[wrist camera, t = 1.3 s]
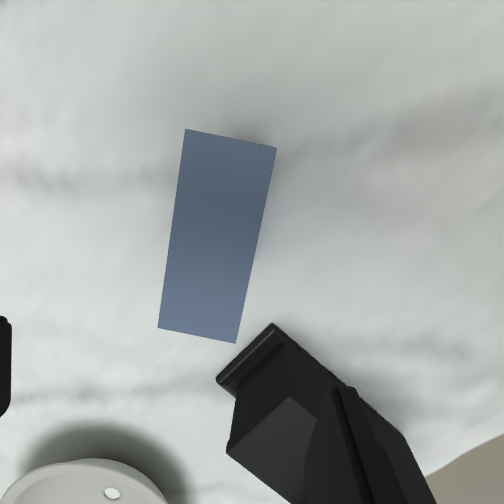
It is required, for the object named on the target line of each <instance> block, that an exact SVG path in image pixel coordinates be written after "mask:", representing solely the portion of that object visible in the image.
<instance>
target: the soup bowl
mask: <svg viewBox="0 0 504 504" xmlns="http://www.w3.org/2000/svg"><path fill="white" fill-rule="evenodd" d="M106 488H115V489H117V490H118V491H119V493H120V497H119V498H118V499H115V500H113V499H109V498H107V497H106V496H105V494H104V490H105V489H106ZM0 504H168V502H167V501H166V500H165V498H164V496H163V495H162V493H161V492H160V490H159V489H158V488H157V487H156V485H155V484H154V483H153V482H152V481H151V480H150V479H149V478H148V477H146V476H145V475H144V474H142V473H141V472H140V471H138V470H136V469H135V468H133V467H131V466H129V465H126V464H124V463H121V462H118V461H114V460H108V459H100V458H88V459H79V460H74V461H70V462H62V463H55V464H50V465H46V466H42V467H40V468H37V469H34V470H32V471H30V472H28V473H26V474H25V475H23V476H22V477H20V478H19V479H18V480H16V481H15V482H14V483H13V484H12V485H11V486H10V487H9V488H8V489H7V491H6V492H5V493H4V495H3V497H2V499H1V501H0Z"/></svg>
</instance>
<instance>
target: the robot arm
mask: <svg viewBox="0 0 504 504" xmlns="http://www.w3.org/2000/svg"><path fill="white" fill-rule="evenodd" d="M11 349H12V326H11V324H10V323H8V321H7V319H6V318H5V317H4V316H0V417H1V416H2V415H3V414H4V413H5V412H6V410H7V409H8V407H9V404H10V400H11ZM304 480H305V488H306V496H307V504H408V503H407V501H406V498H405V496H404V493H403V491H402V489H401V486H400V484H399V481H398V479H397V477H396V474H395V472H394V469H393V467H392V464H391V462H390V460H389V457H388V455H387V452H386V450H385V448H384V446H383V444H381V443H380V442H379V441H376V439H375V436H374V434H373V431H372V429H371V426H370V424H369V421H368V418H367V416H366V413H365V411H364V408H363V406H362V403H361V401H360V398H359V396H358V393H357V391H356V389H355V388H354V387H350V386H345V385H340V384H334V386H333V388H329V387H328V388H327V389H326V391H325V395H324V398H323V401H322V404H321V408H320V411H319V414H318V417H317V421H316V424H315V427H314V430H313V434H312V437H311V440H310V443H309V446H308V450H307V453H306V456H305V460H304Z"/></svg>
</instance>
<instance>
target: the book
mask: <svg viewBox="0 0 504 504" xmlns="http://www.w3.org/2000/svg"><path fill="white" fill-rule="evenodd" d="M276 150H277V148H275V147H270V146H265V145H261V144H256V143H251V142H246V141H241V140H237V139H232V138H227V137H222V136H218V135H213V134H208V133H203V132H198V131H194V130H189V129H185V134H184V142H183V149H182V156H181V163H180V170H179V177H178V185H177V192H176V199H175V206H174V213H173V221H172V228H171V235H170V242H169V249H168V256H167V264H166V271H165V278H164V285H163V292H162V300H161V307H160V314H159V321H158V328H161V329H166V330H171V331H176V332H181V333H186V334H191V335H196V336H201V337H206V338H211V339H216V340H220V341H225V342H230V343H235V344H236V340H237V335H238V330H239V325H240V321H241V316H242V311H243V307H244V302H245V297H246V292H247V288H248V283H249V278H250V273H251V269H252V264H253V259H254V254H255V250H256V245H257V240H258V235H259V231H260V226H261V221H262V216H263V212H264V207H265V202H266V197H267V193H268V188H269V183H270V179H271V174H272V169H273V164H274V160H275V155H276Z"/></svg>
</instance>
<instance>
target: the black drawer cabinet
mask: <svg viewBox="0 0 504 504" xmlns="http://www.w3.org/2000/svg"><path fill="white" fill-rule="evenodd" d="M216 382H217V383H218V384H219V385H220V386H221V387H222V388H224V389H225V390H226V391H228V392H229V393H230V394H231V395H232V396H234V397H235V398H236V400H235V407H234V413H233V420H232V426H231V433H230V439H229V441H228V443H227V447H226V454H228V455H229V456H230V457H231V458H233V459H234V460H235V461H237V462H238V463H239V464H241V465H242V466H243V467H244V468H246V469H247V470H248V471H250V472H251V473H252V474H253V475H255V476H256V477H257V478H258V479H260V480H261V481H262V482H264V483H265V484H266V485H267V486H269V487H270V488H271V489H273V490H274V491H275V492H277V493H278V494H279V495H281V496H282V497H283V498H284V499H286V500H287V501H288V502H290V503H291V504H307V496H306V488H305V480H304V460H305V456H306V453H307V450H308V446H309V443H310V440H311V437H312V434H313V430H314V427H315V424H316V421H317V417H318V414H319V411H320V408H321V404H322V401H323V398H324V395H325V391H326V389H327V388H328V387H329V388H333V386H334V384H340V385H344V383H342V382H341V381H340V380H338V379H337V378H336V377H335V376H334V375H333V374H332V373H330V372H329V371H328V370H327V369H325V368H324V367H323V366H322V365H321V364H320V363H319V362H317V361H316V360H315V359H314V358H312V357H311V356H310V355H309V354H308V353H307V352H306V351H305V350H303V349H302V348H301V347H300V346H299V345H297V343H295V342H294V341H293V340H292V339H290V338H289V337H288V336H287V335H286V334H285V333H283V332H282V331H281V330H280V329H279V328H277V327H276V326H275V325H274V324H271V325H270V326H269V327H268V328H266V329H265V330H264V331H263V332H262V333H261V334H260V335H259V336H258V337H257V338H256V339H255V340H254V341H253V342H252V343H251V344H250V345H249V346H248V347H247V348H246V349H244V350H243V352H241V353H240V354H239V355H238V356H237V357H236V358H235V359H234V360H233V361H232V362H231V363H230V364H229V365H228V366H227V367H226V368H225V369H224V370H223V371H222V372H221V373H220V374H219V375H218V376H217V377H216ZM345 386H346V385H345ZM360 401H361V403H362V406H363V408H364V411H365V413H366V416H367V418H368V421H369V424H370V426H371V429H372V431H373V434H374V436H375V439H376V441H379V442H380V443H381V444H383V446H384V448H385V450H386V452H387V455H388V457H389V460H390V462H391V464H392V467H393V469H394V472H395V474H396V477H397V479H398V481H399V484H400V486H401V489H402V491H403V493H404V496H405V498H406V501H407V503H408V504H437V503H436V501H435V499H434V497H433V495H432V493H431V491H430V489H429V487H428V485H427V482H426V480H425V478H424V476H423V474H422V472H421V470H420V468H419V466H418V464H417V462H416V460H415V458H414V456H413V453H412V452H411V449H410V447H409V445H408V443H407V441H406V439H405V437H404V436H403V435H402V434H401V433H400V432H398V431H397V430H396V429H395V428H394V427H393V426H391V425H390V424H389V423H388V422H387V421H386V420H384V419H383V418H382V417H381V416H380V415H379V414H378V413H377V412H375V411H374V410H373V409H372V408H371V407H369V406H368V405H367V404H366V403H365V402H364V401H363V400H361V399H360Z"/></svg>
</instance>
